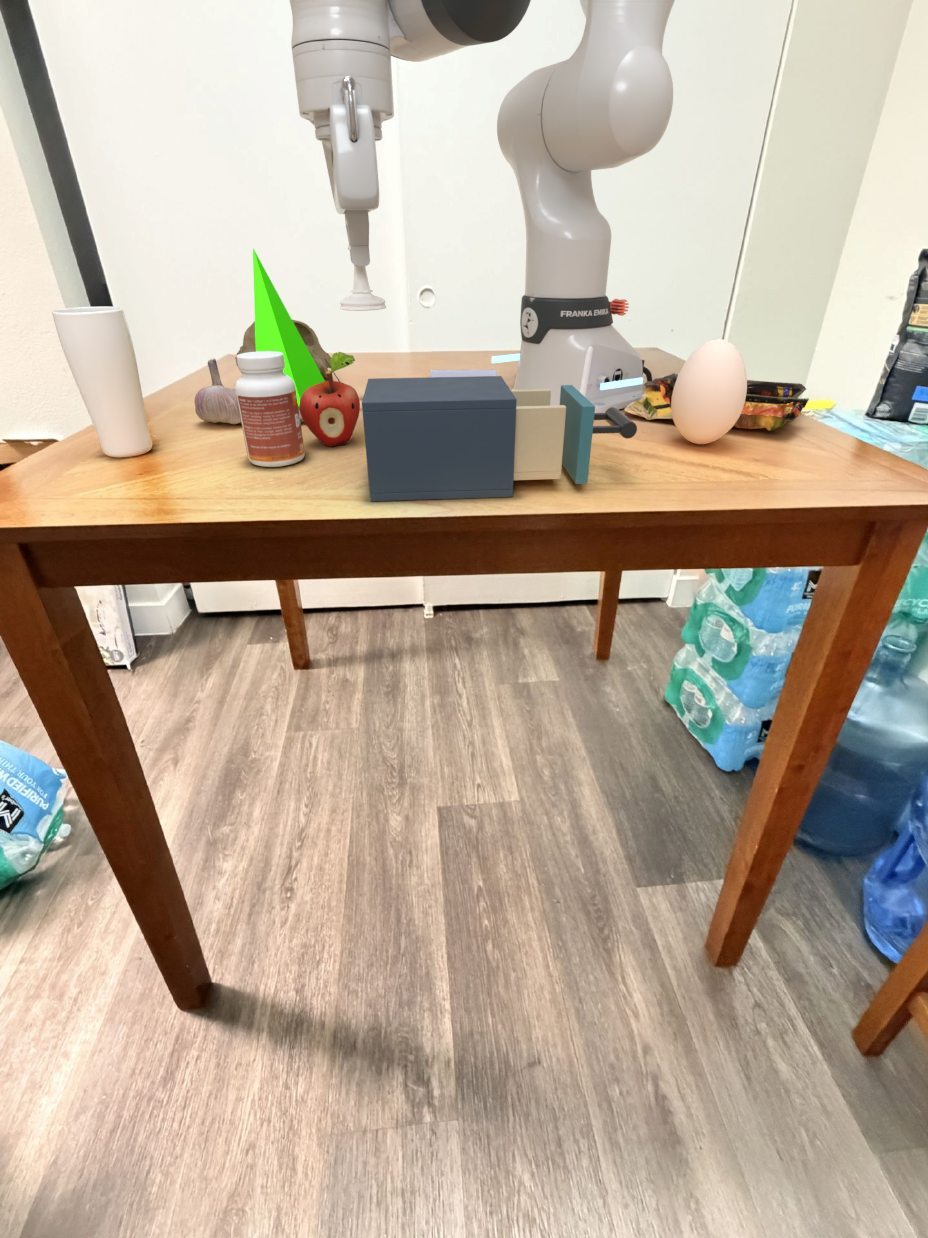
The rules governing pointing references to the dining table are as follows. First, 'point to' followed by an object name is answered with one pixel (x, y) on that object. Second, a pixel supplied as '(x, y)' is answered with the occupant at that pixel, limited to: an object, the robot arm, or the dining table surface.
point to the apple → (331, 406)
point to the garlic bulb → (217, 400)
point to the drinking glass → (106, 376)
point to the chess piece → (361, 293)
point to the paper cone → (281, 333)
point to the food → (761, 408)
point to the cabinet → (439, 438)
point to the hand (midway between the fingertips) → (360, 264)
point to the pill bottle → (268, 410)
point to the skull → (308, 338)
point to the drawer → (559, 433)
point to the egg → (709, 392)
